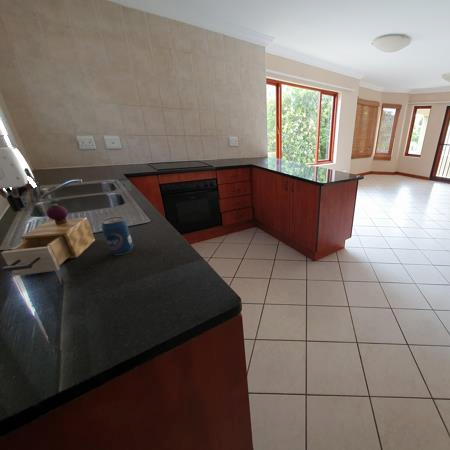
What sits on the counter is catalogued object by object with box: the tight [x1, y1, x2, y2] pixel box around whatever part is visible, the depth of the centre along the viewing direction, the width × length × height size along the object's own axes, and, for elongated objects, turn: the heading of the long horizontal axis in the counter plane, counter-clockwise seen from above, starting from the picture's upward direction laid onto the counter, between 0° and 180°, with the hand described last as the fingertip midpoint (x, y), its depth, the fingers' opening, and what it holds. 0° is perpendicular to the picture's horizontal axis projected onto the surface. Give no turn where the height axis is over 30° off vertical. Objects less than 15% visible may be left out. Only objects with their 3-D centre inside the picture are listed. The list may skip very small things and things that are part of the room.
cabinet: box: [20, 217, 96, 260], centre depth 83 cm, size 14×12×10 cm
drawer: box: [0, 235, 72, 277], centre depth 72 cm, size 18×10×8 cm, turn 18°
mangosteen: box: [46, 203, 69, 224], centre depth 82 cm, size 5×5×7 cm
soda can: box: [101, 216, 134, 256], centre depth 82 cm, size 7×7×12 cm
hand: (21, 209), depth 68 cm, fingers closed
